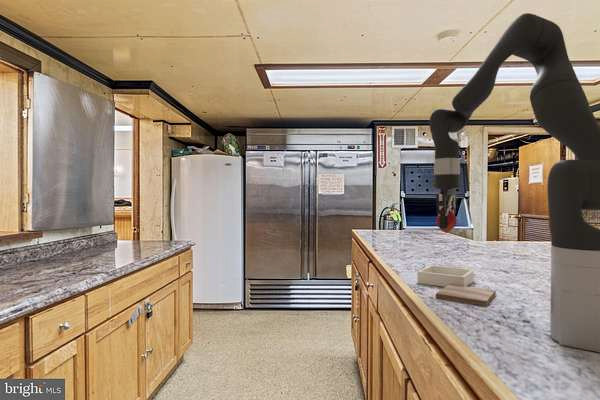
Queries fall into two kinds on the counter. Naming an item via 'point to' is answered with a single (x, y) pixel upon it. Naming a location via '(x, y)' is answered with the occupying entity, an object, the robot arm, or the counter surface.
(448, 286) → the board
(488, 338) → the counter surface
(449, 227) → the onion
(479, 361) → the counter surface
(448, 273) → the shallow wooden tray
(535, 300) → the counter surface
